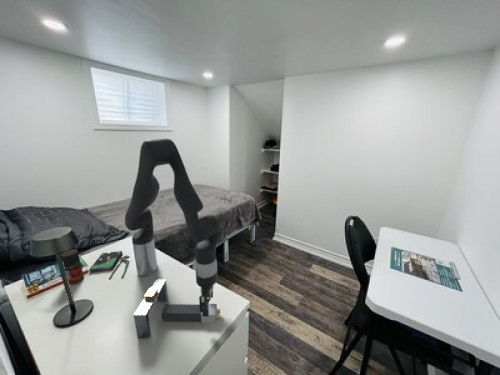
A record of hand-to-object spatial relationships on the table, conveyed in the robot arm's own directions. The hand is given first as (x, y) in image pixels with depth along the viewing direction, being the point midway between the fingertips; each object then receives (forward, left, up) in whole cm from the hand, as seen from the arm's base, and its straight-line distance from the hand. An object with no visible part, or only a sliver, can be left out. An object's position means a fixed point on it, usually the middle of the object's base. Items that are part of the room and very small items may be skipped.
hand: (208, 306), depth 77 cm
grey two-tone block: (0, -7, -5) cm, 9 cm away
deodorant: (-19, -67, -5) cm, 70 cm away
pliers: (-29, -51, -6) cm, 59 cm away
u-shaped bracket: (0, -21, -5) cm, 21 cm away
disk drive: (-32, -61, -6) cm, 69 cm away
